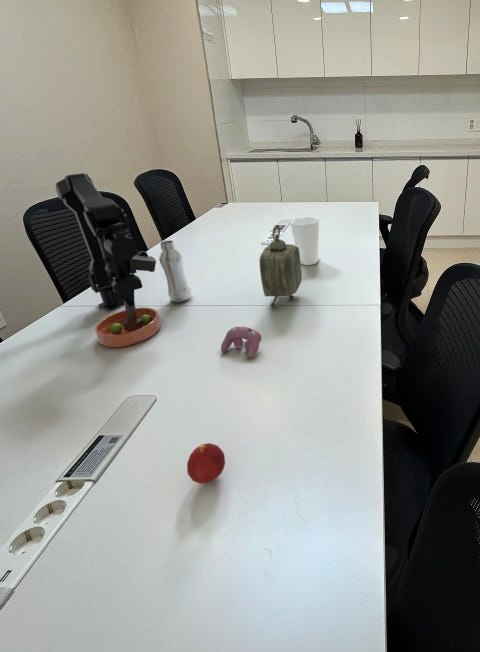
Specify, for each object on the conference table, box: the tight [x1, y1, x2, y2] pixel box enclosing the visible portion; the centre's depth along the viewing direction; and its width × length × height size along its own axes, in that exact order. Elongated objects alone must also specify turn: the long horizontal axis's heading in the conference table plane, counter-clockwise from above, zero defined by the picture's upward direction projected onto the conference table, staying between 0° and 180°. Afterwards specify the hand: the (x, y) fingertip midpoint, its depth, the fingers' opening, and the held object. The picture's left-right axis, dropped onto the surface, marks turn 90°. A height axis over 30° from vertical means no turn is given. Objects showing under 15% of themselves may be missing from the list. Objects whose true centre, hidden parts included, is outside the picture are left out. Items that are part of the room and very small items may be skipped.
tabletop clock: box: [259, 224, 303, 309], centre depth 120 cm, size 14×9×25 cm, turn 178°
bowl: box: [94, 307, 162, 348], centre depth 108 cm, size 15×15×4 cm
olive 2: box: [140, 315, 152, 325], centre depth 112 cm, size 3×3×3 cm
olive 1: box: [110, 323, 123, 334], centre depth 108 cm, size 3×3×3 cm
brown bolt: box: [123, 301, 142, 331], centre depth 107 cm, size 4×4×14 cm
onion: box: [186, 442, 226, 484], centre depth 64 cm, size 6×6×8 cm
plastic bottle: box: [158, 240, 192, 303], centre depth 123 cm, size 6×7×20 cm
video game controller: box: [220, 326, 262, 359], centre depth 100 cm, size 10×5×7 cm, turn 71°
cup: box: [289, 216, 320, 266], centre depth 151 cm, size 11×10×17 cm
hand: (131, 304), depth 107 cm, fingers closed on brown bolt, 2 cm apart
